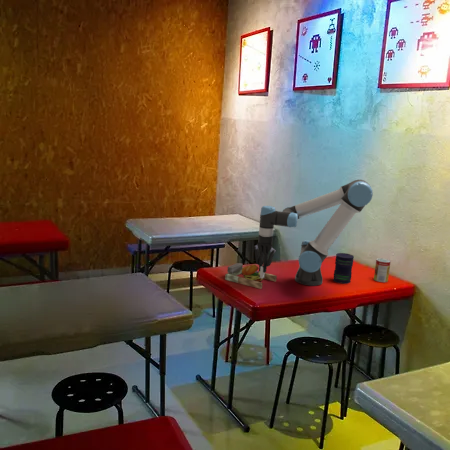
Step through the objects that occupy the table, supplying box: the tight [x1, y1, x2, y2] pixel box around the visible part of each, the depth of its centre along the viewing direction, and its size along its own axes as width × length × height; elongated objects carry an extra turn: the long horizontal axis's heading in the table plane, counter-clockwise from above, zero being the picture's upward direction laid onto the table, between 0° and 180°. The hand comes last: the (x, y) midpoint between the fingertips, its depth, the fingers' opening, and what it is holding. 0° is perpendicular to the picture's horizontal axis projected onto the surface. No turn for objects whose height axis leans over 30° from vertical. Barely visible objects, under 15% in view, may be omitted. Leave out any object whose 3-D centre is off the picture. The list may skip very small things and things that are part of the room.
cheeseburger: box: [241, 264, 263, 282], centre depth 270 cm, size 10×11×10 cm
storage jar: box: [332, 252, 355, 285], centre depth 279 cm, size 10×10×15 cm
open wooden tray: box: [224, 262, 277, 290], centre depth 271 cm, size 23×18×6 cm
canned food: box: [373, 257, 391, 283], centre depth 286 cm, size 8×8×12 cm
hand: (261, 277), depth 267 cm, fingers closed
